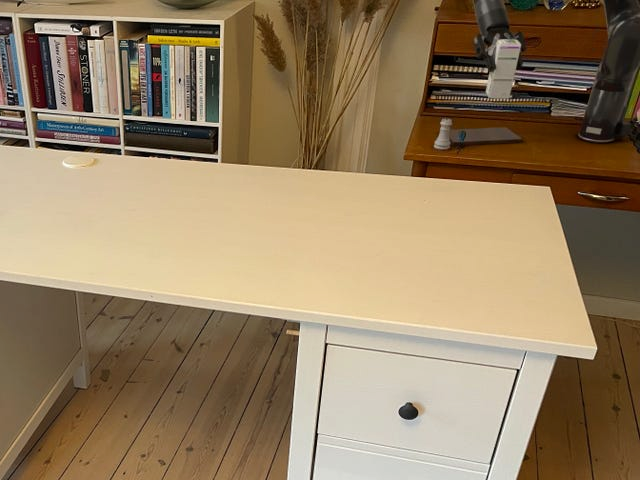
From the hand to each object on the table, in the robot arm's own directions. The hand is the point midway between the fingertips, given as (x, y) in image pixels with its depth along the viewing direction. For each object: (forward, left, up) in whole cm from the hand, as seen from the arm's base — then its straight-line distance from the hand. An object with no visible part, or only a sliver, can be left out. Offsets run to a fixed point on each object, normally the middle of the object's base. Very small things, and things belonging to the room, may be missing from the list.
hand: (506, 69), depth 202 cm
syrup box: (0, -1, -8) cm, 8 cm away
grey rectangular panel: (+1, -4, -20) cm, 21 cm away
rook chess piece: (+15, +3, -20) cm, 26 cm away
